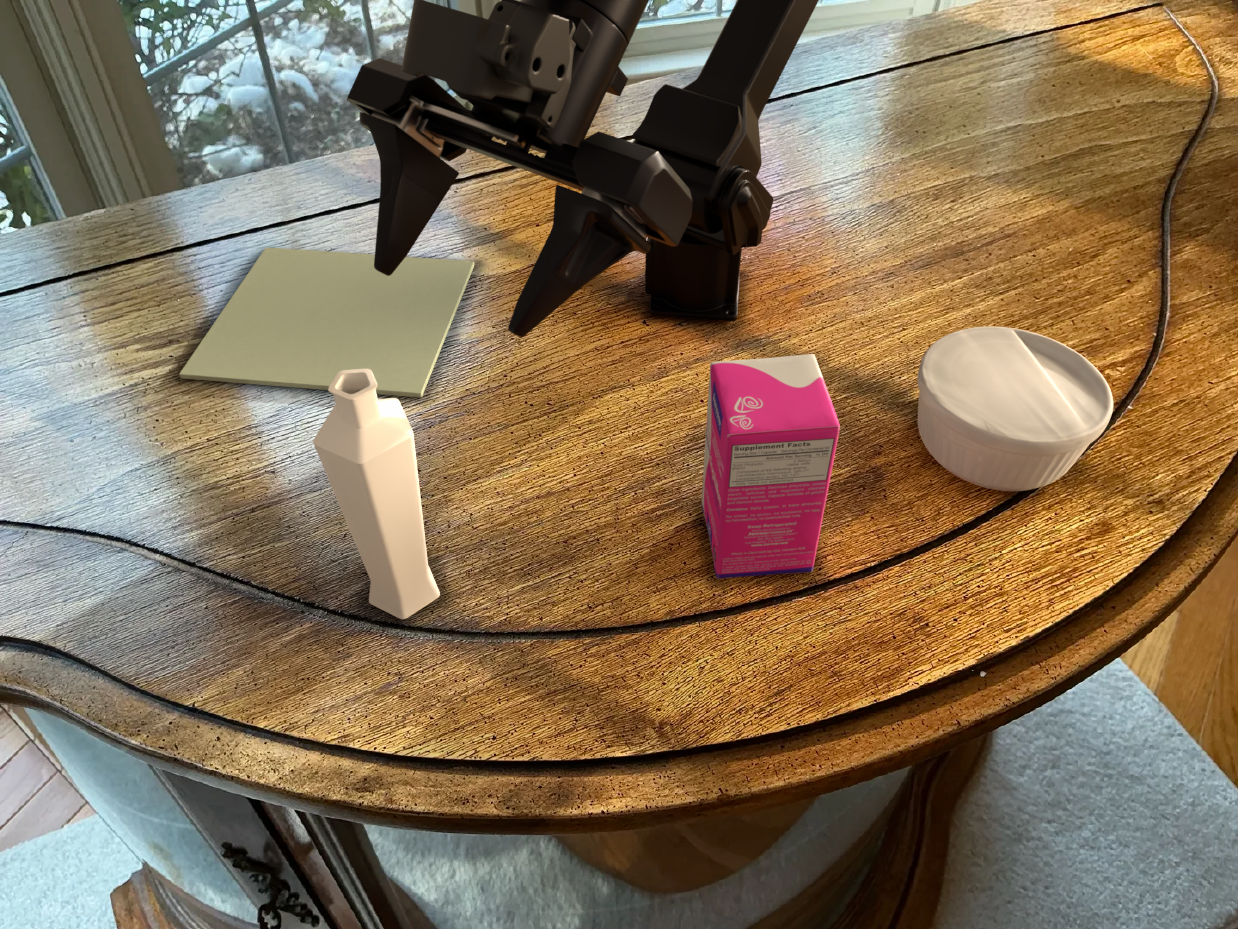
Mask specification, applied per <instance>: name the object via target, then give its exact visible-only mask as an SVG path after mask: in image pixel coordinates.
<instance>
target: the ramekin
mask: <svg viewBox="0 0 1238 929" xmlns="http://www.w3.org/2000/svg"><path fill="white" fill-rule="evenodd" d="M916 377H917V378H916V379H917V387H918V403H917V404H918V405H917V428H918V434H919V436H920V439H921V441H922V443H923V444H924V447H925V449H926V450H927V451H928V453H929V454H930V455H931V456H932V457H933V459H934V460H935V461H936V462H937V463H938V464H939V465H940V466H942V468H944V469H945V470H946V471H948V472H949V473H951V474H952V475H954V476H955V477H957V478H959V479H961V480H963V481H965V482H967V483H970V484H972V485H975V486H978V487H981V488H984V489H989V490H995V491H999V492H1000V491H1001V492H1024V491H1031V490H1035V489H1038V488H1043V487H1045V486H1047V485H1050V484H1053V482H1056V481H1058V480H1060V479H1061V477H1063V476H1065V475H1066V474H1067V472H1069V470H1070V469H1071V468H1072V467H1073V466H1074V464H1075V463H1076V462H1077V461H1078V459H1079V458H1080V457H1081V456H1082V454H1083V453H1084V452H1085V451H1086V450H1087V448H1088V447H1089V445H1090V444H1092V443H1093V442H1095V441H1096V440H1097V439H1098V438H1099V437H1100V436H1101V435H1102V434H1103V433H1104V431H1105V430H1106V428H1107V427H1108V425H1109V422H1110V420H1111V417H1112V414H1113V411H1114V397H1113V392H1112V390H1111V388H1110V385H1109V384H1108V382H1107V380H1106V378H1105V377H1104V375H1103V374H1102V373H1101V372H1100V371H1099V369H1098V368H1097V367H1096V366H1094V364H1092V362H1091V361H1089V360H1088V359H1087V358H1086V357H1084V356H1083V355H1082V354H1080V353H1079V352H1078V351H1076V350H1075V349H1073V348H1071V347H1069V346H1067V345H1065V344H1064V343H1062V342H1060V341H1058V340H1056V339H1053V338H1050V337H1048V336H1046V335H1042V334H1039V333H1036V332H1032V331H1029V330H1025V329H1019V328H1014V327H1007V326H993V325H991V326H989V325H987V326H975V327H969V328H968V327H967V328H963V329H960V330H957V331H953V332H951V333H948V334H946V335H944V336H942V337H940V338H939V339H937V340H936V341H935V342H933V343H931V345H930V346H929V347H928V348H927V349H926V351H925V352H924V353H923V355H922V358H921V360H920V363H919V367H918V369H917V376H916Z"/></svg>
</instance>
